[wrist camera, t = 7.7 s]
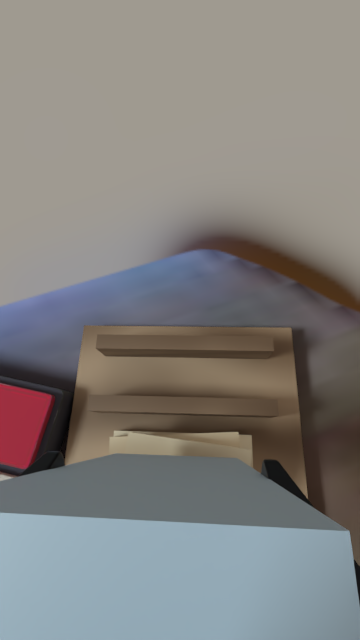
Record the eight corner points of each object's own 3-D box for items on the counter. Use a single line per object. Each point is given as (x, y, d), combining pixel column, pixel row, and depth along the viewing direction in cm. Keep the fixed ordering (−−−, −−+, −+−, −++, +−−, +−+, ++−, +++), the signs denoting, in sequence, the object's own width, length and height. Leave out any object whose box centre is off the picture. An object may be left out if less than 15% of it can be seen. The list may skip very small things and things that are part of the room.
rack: (306, 542, 20) (328, 565, 16) (61, 528, 21) (34, 547, 17) (287, 332, 24) (301, 316, 21) (89, 330, 25) (72, 314, 22)
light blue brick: (238, 517, 14) (391, 841, 3) (110, 511, 15) (-192, 772, 3) (237, 458, 15) (349, 530, 4) (116, 453, 15) (-110, 507, 4)
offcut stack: (252, 523, 19) (263, 541, 16) (110, 516, 20) (93, 532, 17) (248, 432, 21) (257, 432, 18) (118, 428, 21) (104, 427, 18)
